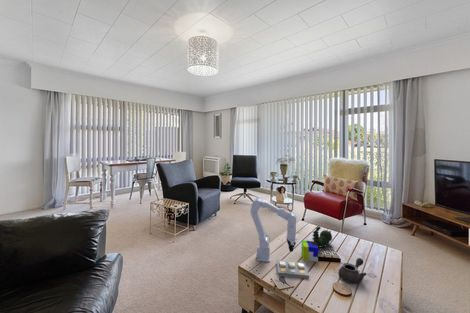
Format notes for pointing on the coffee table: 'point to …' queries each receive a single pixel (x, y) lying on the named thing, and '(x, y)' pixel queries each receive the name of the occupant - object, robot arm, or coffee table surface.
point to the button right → (300, 265)
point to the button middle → (291, 265)
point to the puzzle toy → (309, 250)
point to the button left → (282, 264)
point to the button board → (292, 270)
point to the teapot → (351, 272)
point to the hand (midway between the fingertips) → (290, 250)
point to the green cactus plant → (322, 237)
